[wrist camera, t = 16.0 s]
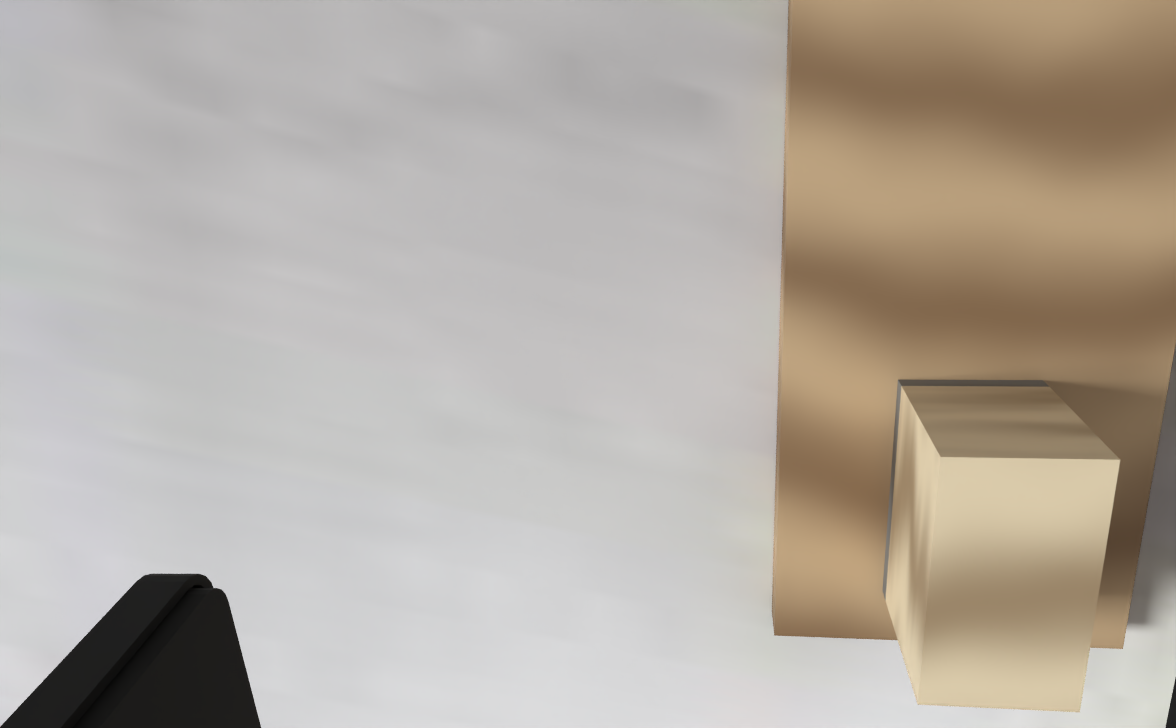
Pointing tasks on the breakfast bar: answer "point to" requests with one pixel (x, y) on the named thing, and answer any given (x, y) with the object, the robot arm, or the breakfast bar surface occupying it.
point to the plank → (966, 259)
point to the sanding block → (995, 542)
